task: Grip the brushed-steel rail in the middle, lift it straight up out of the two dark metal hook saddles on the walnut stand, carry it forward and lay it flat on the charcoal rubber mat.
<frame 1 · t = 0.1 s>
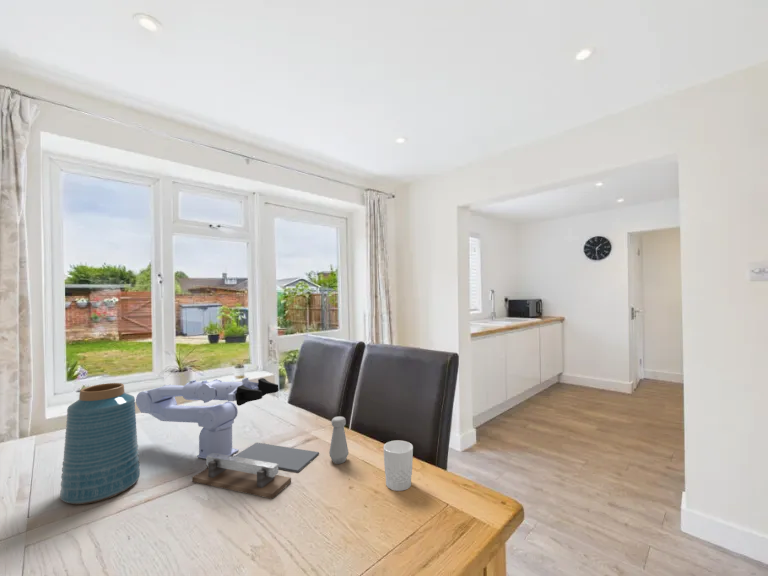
hand: (269, 391, 105), 22 cm above the table, tool horizontal, fingers open, 7 cm apart
salt shaker: (339, 461, 106), on the table
rail: (241, 468, 95), point 3 cm above the table, touching rack
white cup: (398, 484, 93), on the table
vase: (102, 489, 92), on the table
mat: (275, 457, 109), on the table
rack: (241, 481, 95), on the table
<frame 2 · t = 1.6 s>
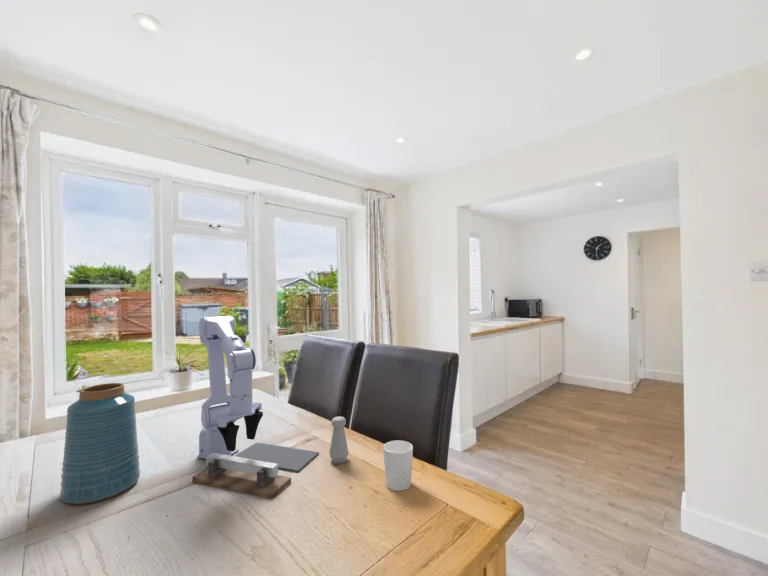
hand: (241, 444, 95), 10 cm above the table, tool pointing down, fingers open, 7 cm apart
nothing on the table moved.
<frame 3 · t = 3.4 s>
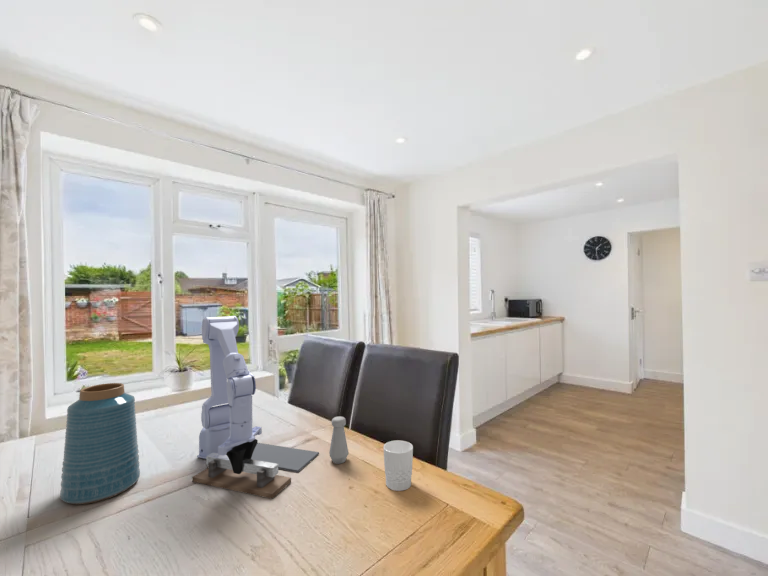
hand: (241, 470, 95), 3 cm above the table, tool pointing down, fingers closed on rail, 2 cm apart
rail: (241, 468, 95), point 3 cm above the table, touching gripper, rack
everything else where it was.
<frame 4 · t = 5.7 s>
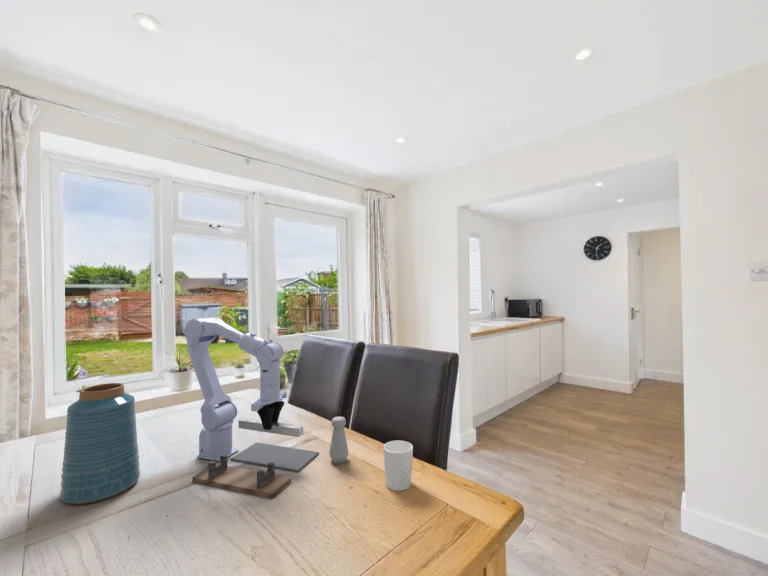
hand: (270, 427, 107), 10 cm above the table, tool pointing down, fingers closed on rail, 2 cm apart
rail: (270, 430, 106), point 9 cm above the table, touching gripper
everything else where it was.
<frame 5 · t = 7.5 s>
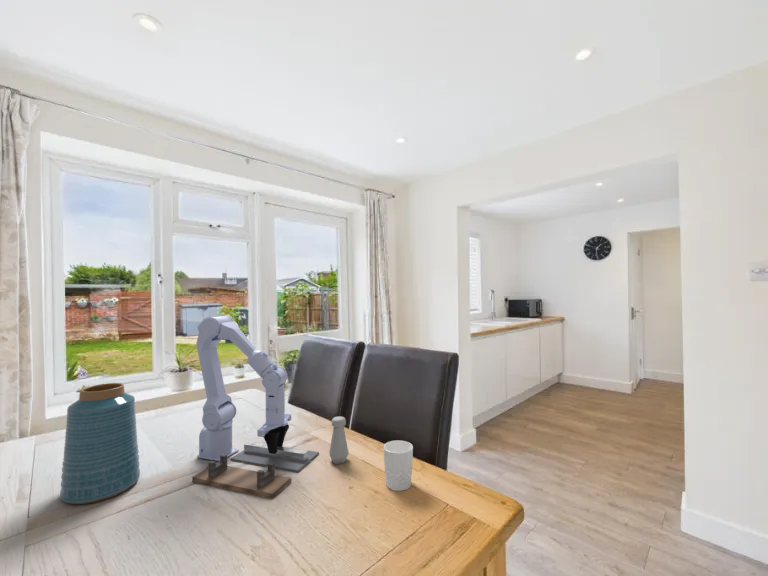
hand: (275, 451, 109), 2 cm above the table, tool pointing down, fingers closed on rail, 2 cm apart
rail: (275, 455, 109), point 1 cm above the table, touching gripper, mat
everything else where it was.
when the fingers open (2 cm above the table, at t = 8.2 s): rail stays where it is, resting on mat.
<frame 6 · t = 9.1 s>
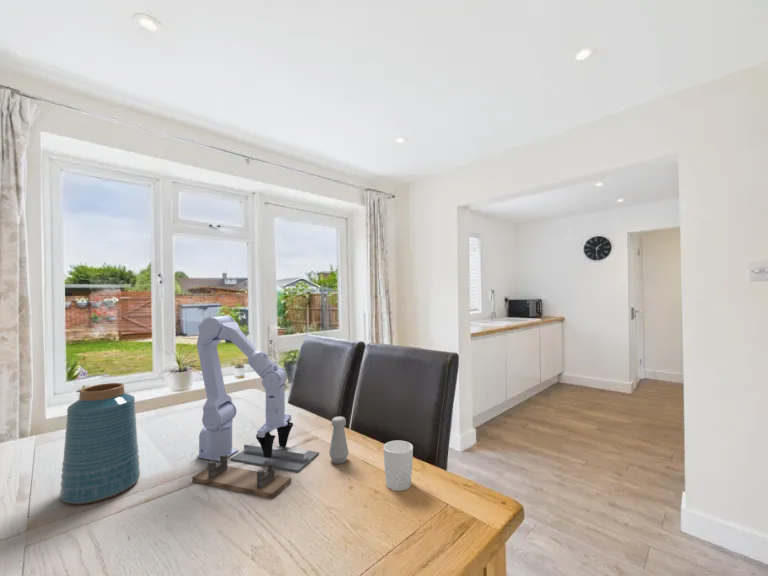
hand: (275, 451, 109), 2 cm above the table, tool pointing down, fingers open, 7 cm apart
rail: (275, 455, 109), point 1 cm above the table, touching mat
everything else where it was.
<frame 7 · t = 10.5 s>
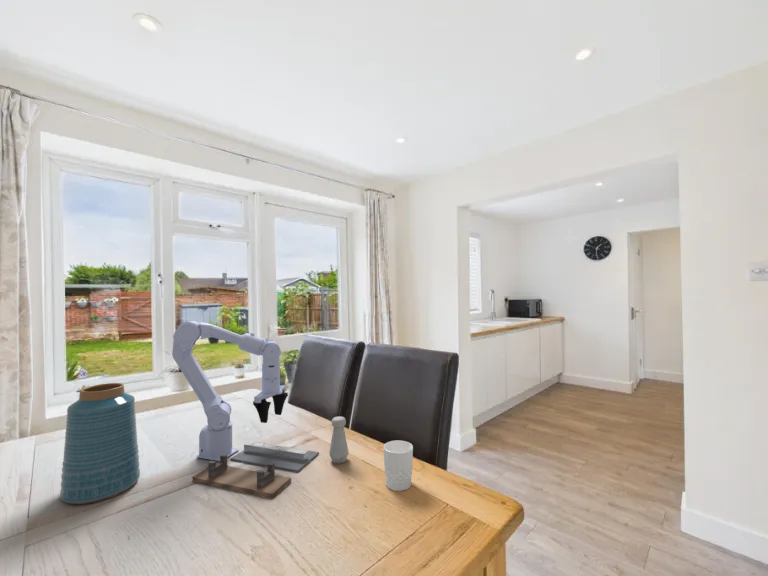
hand: (271, 418, 117), 9 cm above the table, tool pointing down, fingers open, 7 cm apart
nothing on the table moved.
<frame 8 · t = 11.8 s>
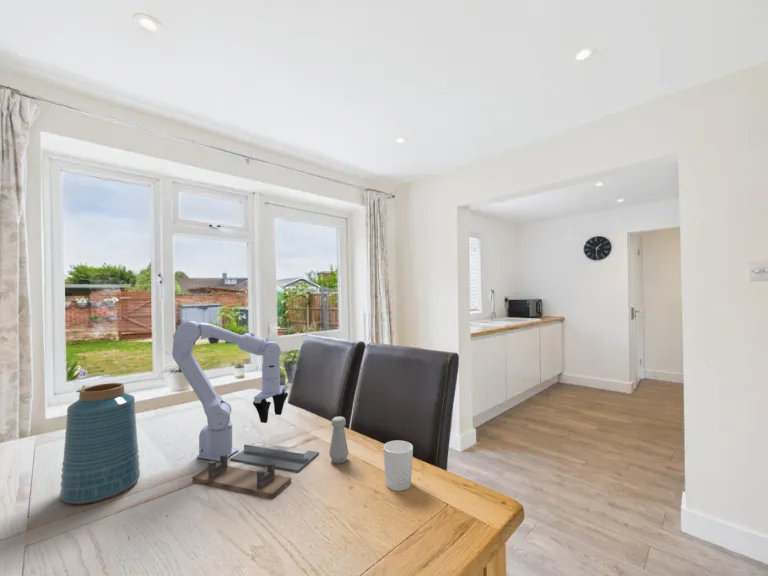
hand: (271, 418, 117), 9 cm above the table, tool pointing down, fingers open, 7 cm apart
nothing on the table moved.
at the end: rail inside the target area on the mat (0.0 cm from its centre), point 0.6 cm above the mat's base; rail tilted 0°; the gripper is holding nothing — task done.
